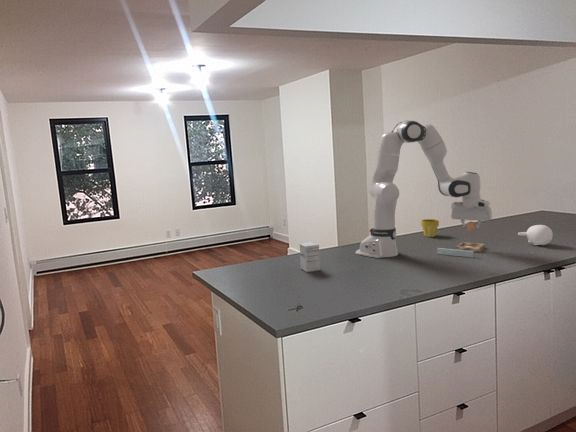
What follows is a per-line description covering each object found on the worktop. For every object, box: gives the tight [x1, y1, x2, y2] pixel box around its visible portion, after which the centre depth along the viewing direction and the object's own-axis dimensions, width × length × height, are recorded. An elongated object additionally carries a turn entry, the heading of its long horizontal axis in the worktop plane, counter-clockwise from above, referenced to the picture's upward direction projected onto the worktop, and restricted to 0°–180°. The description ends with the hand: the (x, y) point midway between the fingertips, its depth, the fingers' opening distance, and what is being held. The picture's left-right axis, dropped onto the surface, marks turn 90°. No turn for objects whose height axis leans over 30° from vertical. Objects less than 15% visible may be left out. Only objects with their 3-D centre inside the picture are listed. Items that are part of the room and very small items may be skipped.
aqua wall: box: [436, 247, 475, 259], centre depth 245 cm, size 18×1×3 cm, turn 54°
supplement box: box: [299, 241, 321, 273], centre depth 230 cm, size 7×7×13 cm
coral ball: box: [465, 221, 477, 232], centre depth 255 cm, size 5×5×5 cm
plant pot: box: [420, 218, 440, 238], centre depth 294 cm, size 10×10×10 cm
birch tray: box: [455, 241, 486, 254], centre depth 257 cm, size 12×12×2 cm
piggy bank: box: [517, 224, 554, 246], centre depth 259 cm, size 12×12×15 cm
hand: (471, 228), depth 255 cm, fingers closed on coral ball, 5 cm apart
